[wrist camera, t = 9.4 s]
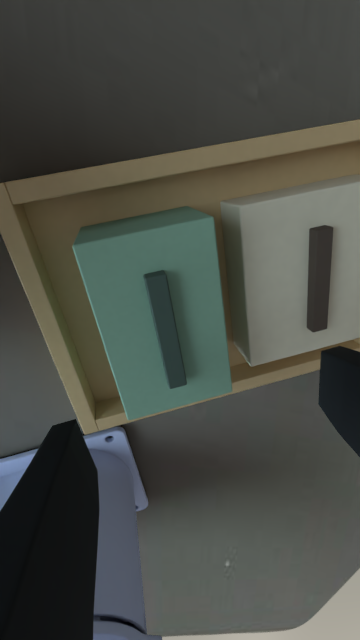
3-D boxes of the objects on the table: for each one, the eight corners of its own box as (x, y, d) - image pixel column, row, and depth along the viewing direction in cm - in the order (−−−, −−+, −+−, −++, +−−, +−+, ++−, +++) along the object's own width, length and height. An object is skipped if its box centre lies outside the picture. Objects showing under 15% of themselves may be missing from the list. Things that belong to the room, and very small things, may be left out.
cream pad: (233, 344, 18) (255, 373, 16) (219, 201, 15) (244, 207, 12) (341, 316, 19) (379, 339, 17) (353, 174, 16) (404, 174, 13)
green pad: (123, 371, 18) (128, 430, 14) (79, 226, 14) (69, 248, 10) (208, 349, 18) (237, 399, 14) (187, 205, 15) (219, 217, 11)
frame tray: (86, 409, 19) (84, 435, 17) (-2, 184, 13) (-20, 186, 11) (350, 338, 21) (374, 354, 19) (372, 117, 15) (409, 110, 13)
